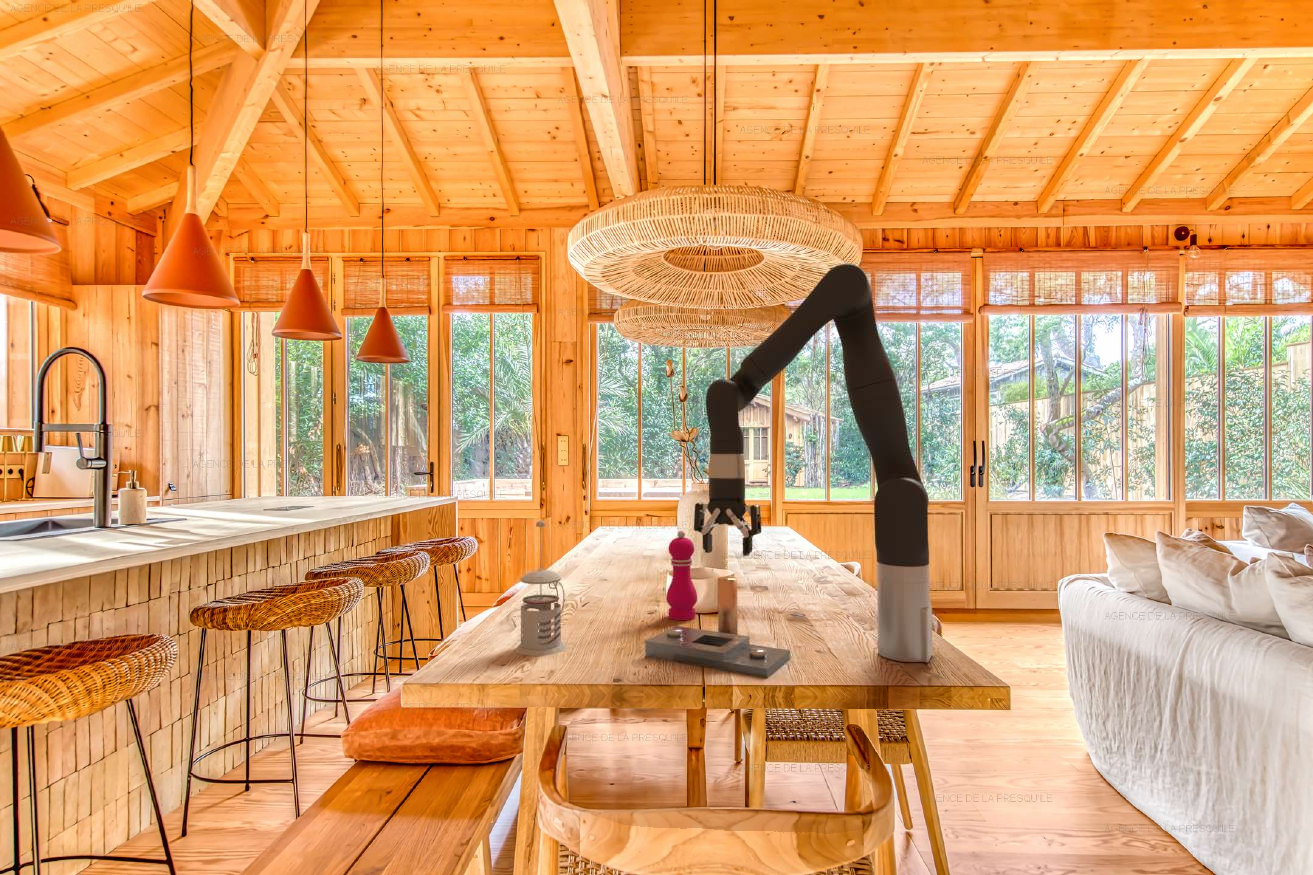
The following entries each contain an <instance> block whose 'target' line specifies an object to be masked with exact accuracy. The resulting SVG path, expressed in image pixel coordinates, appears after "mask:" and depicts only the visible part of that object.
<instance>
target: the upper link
mask: <svg viewBox="0 0 1313 875" xmlns="http://www.w3.org/2000/svg"><path fill="white" fill-rule="evenodd" d="M750 642H751V641H750V636H749V635H742V634H738V635H736V634H729V633H722V632H718V631H716V630H715V631H714V630H705V629H699V628H692V627H685V626H678V625H674V626H673V627H669V628H667V629H666V630H664V631H663V632H660V633H657V634H656V635H654V636H653V637H650V638H648V639H646V640H645V642H644V644H645V647H644V648H645V658H650V659H656V660H661V661H662V660H663V661H665V662H666V661H667V662H673V663H675V662H674V654H680V655H686V656H692V657H698V658H704V659H710V660H716V661H722V662H724V661H726V660H727V659H729V658H730V657H732V656H733V655H735V654H736V653H738V652H739V651H740V650H742V649H743V648H745V647H746V646H748V645H749V644H750ZM703 643H711V644H718V645H723V646H721V647H716V646H710V645H703Z"/></svg>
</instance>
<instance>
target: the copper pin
mask: <svg viewBox="0 0 1313 875" xmlns="http://www.w3.org/2000/svg"><path fill="white" fill-rule="evenodd" d="M717 611H718V612H717V618H718V619H717V626H718V627H717V628H718V629H717V630H718V631H717V632H722V633H729V634H736V635H739V634H738V632H739V630H738V629H739V628H738V625H739V622H738V577H735V576H720V577H717Z"/></svg>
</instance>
